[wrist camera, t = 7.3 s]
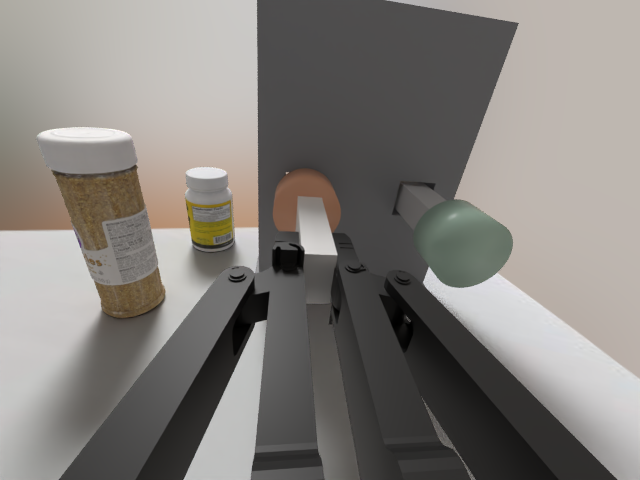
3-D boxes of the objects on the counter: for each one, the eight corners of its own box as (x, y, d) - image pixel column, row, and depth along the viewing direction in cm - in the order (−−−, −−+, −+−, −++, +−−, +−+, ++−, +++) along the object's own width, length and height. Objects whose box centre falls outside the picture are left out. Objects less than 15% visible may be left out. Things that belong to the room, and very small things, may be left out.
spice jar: (93, 301, 22) (22, 127, 16) (150, 276, 26) (112, 124, 19) (118, 330, 20) (49, 142, 14) (178, 299, 24) (145, 136, 17)
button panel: (251, 301, 24) (243, -34, 13) (259, 258, 30) (257, 2, 19) (429, 303, 27) (545, 19, 16) (403, 262, 33) (474, 36, 22)
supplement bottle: (201, 231, 34) (193, 163, 30) (239, 234, 34) (236, 168, 30) (184, 251, 30) (172, 176, 26) (228, 255, 30) (223, 181, 26)
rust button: (272, 242, 18) (273, 179, 16) (278, 185, 28) (279, 141, 26) (336, 245, 19) (345, 184, 17) (320, 188, 29) (324, 146, 27)
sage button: (424, 286, 16) (450, 218, 14) (372, 207, 26) (382, 161, 24) (492, 288, 16) (527, 223, 14) (415, 210, 26) (429, 165, 24)
